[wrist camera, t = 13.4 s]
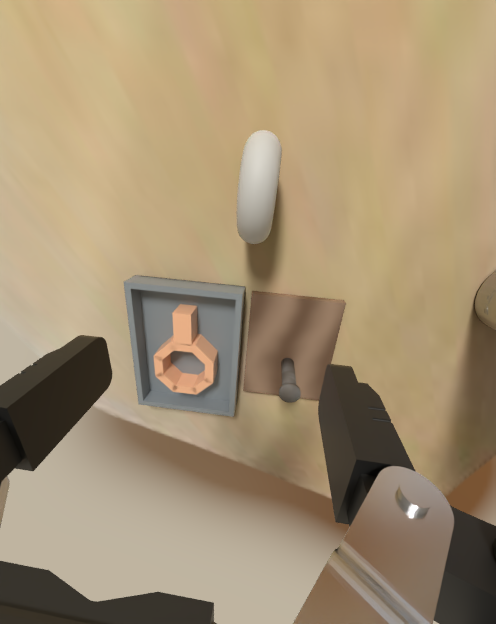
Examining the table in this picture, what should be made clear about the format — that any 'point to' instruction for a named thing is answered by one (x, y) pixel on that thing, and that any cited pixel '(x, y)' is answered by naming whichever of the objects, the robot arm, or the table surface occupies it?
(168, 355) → the ring
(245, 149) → the donut
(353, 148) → the table surface
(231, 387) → the tray
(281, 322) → the panel
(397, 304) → the table surface
